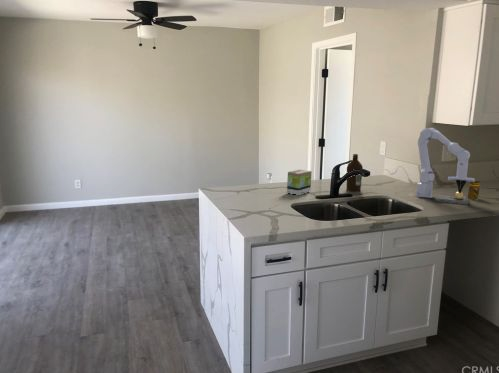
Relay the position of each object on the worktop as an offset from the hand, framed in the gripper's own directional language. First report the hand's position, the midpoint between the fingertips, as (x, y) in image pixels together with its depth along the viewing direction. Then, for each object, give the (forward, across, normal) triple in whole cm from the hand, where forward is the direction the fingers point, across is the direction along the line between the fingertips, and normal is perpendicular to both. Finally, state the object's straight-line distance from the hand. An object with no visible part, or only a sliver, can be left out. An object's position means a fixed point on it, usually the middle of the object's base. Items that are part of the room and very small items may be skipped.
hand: (459, 192), depth 260 cm
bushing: (+6, 0, 0) cm, 6 cm away
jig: (+6, -4, 0) cm, 7 cm away
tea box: (+6, -97, -18) cm, 99 cm away
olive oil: (+6, -65, +6) cm, 66 cm away
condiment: (+6, +8, +13) cm, 17 cm away
